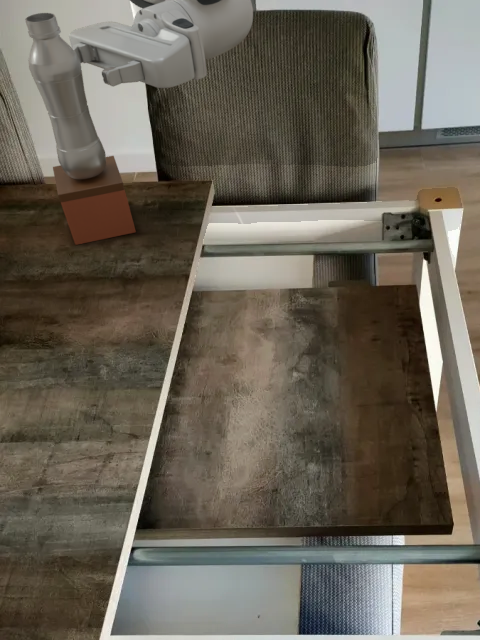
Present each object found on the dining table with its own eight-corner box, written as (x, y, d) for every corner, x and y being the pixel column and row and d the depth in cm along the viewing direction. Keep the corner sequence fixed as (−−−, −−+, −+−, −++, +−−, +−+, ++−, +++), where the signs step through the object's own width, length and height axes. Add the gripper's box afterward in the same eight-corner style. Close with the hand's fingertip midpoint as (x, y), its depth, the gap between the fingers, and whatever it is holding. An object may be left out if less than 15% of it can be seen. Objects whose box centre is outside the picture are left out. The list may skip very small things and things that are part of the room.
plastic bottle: (55, 183, 93) (1, 25, 78) (78, 161, 98) (30, 7, 83) (97, 187, 92) (49, 27, 77) (118, 164, 97) (76, 10, 82)
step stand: (75, 245, 97) (57, 194, 91) (69, 215, 103) (52, 166, 97) (136, 232, 99) (122, 182, 93) (126, 204, 105) (113, 155, 99)
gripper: (111, 3, 97) (31, 30, 90) (207, 29, 87) (125, 61, 81) (122, 50, 101) (47, 79, 94) (214, 79, 92) (138, 113, 85)
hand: (84, 71), depth 87 cm, fingers open, 8 cm apart
